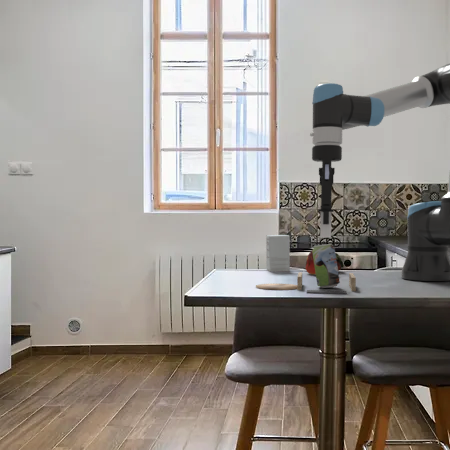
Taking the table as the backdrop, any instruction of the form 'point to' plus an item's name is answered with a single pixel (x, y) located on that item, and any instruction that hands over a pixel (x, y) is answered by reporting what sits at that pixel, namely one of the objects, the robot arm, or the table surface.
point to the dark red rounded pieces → (311, 268)
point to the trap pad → (326, 292)
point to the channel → (351, 281)
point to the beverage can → (325, 266)
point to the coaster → (277, 286)
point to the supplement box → (277, 253)
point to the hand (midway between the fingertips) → (325, 237)
